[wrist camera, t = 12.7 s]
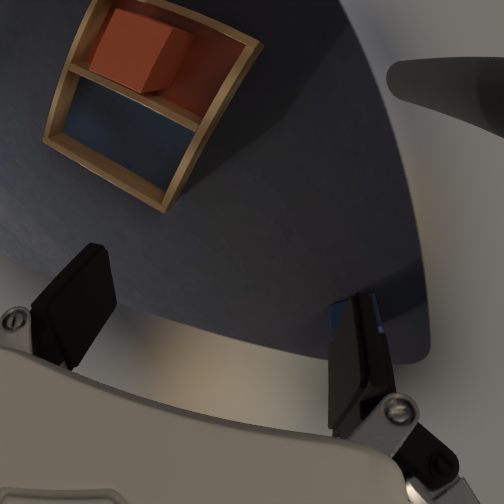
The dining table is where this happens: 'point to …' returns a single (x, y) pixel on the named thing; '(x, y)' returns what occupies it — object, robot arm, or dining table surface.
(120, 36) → the terracotta block
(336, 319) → the blue block
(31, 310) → the robot arm
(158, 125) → the tray
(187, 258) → the dining table surface
